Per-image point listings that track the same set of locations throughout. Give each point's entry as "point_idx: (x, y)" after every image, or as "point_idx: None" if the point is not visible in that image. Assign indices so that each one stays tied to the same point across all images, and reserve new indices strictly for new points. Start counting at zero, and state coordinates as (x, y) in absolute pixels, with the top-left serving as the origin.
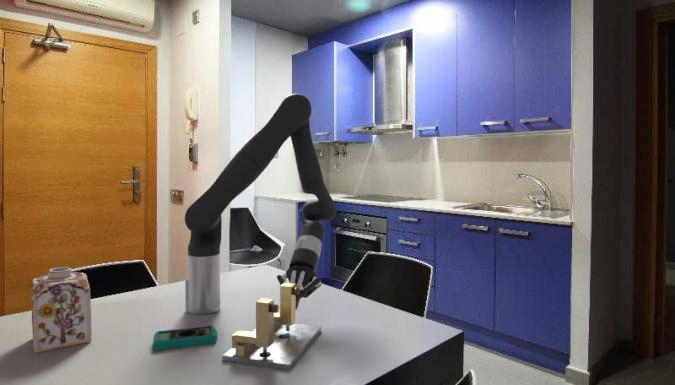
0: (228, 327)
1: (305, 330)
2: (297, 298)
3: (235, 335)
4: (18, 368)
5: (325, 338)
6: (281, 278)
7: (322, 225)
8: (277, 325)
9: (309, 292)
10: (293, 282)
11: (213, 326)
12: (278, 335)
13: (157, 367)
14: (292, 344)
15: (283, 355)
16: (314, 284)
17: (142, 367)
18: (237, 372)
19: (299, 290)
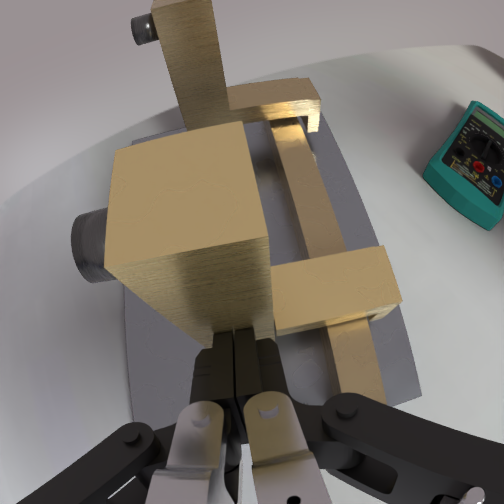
0: (495, 291)
1: (179, 380)
2: (194, 397)
3: (296, 78)
4: (500, 60)
5: (102, 378)
6: (487, 482)
7: None
8: (326, 358)
9: (127, 499)
10: (272, 493)
11: (497, 217)
12: None
13: (396, 74)
14: None
15: None
16: (32, 495)
17: (414, 71)
18: None
19: (84, 268)
